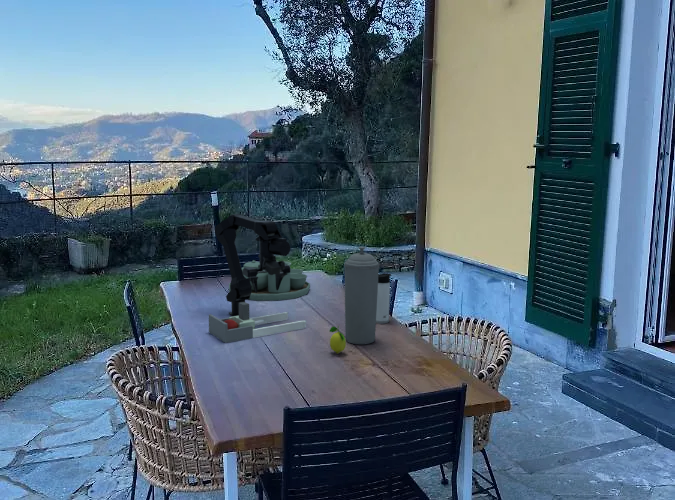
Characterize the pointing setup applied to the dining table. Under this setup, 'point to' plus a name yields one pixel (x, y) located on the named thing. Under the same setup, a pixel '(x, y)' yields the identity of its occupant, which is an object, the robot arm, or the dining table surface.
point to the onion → (231, 324)
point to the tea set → (288, 289)
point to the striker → (245, 317)
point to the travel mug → (383, 298)
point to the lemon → (337, 341)
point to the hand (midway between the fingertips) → (266, 291)
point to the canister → (361, 297)
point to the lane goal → (231, 335)
